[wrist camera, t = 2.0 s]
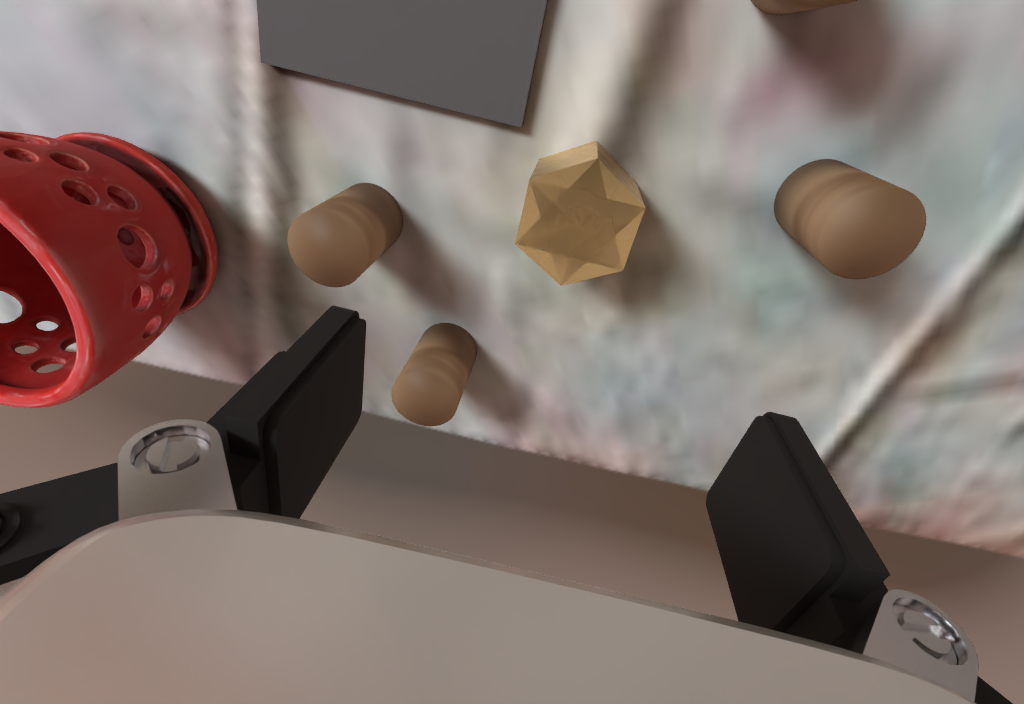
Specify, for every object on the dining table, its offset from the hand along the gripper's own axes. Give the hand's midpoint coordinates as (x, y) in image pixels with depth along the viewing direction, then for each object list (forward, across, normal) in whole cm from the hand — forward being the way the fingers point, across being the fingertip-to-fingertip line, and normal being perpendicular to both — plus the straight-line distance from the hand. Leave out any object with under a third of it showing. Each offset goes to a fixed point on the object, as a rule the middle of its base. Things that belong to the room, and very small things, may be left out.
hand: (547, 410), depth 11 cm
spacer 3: (+19, -13, -3) cm, 23 cm away
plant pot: (+20, +26, +8) cm, 34 cm away
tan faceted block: (+19, -1, 0) cm, 19 cm away
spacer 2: (+19, +5, +12) cm, 23 cm away
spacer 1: (+19, +11, +4) cm, 22 cm away
